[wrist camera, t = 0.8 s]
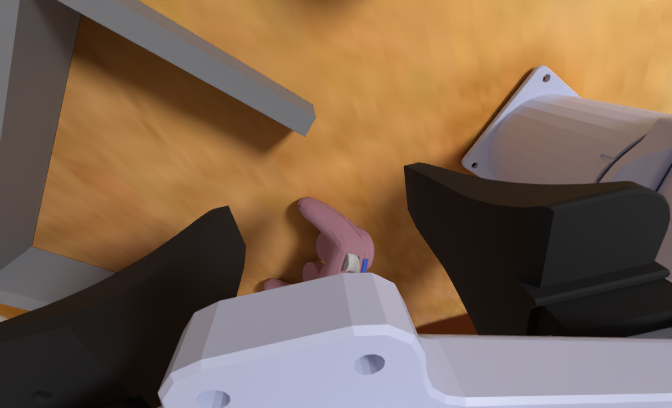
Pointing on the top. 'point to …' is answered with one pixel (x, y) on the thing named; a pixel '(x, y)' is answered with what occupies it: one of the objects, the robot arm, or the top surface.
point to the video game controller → (332, 244)
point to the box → (44, 109)
